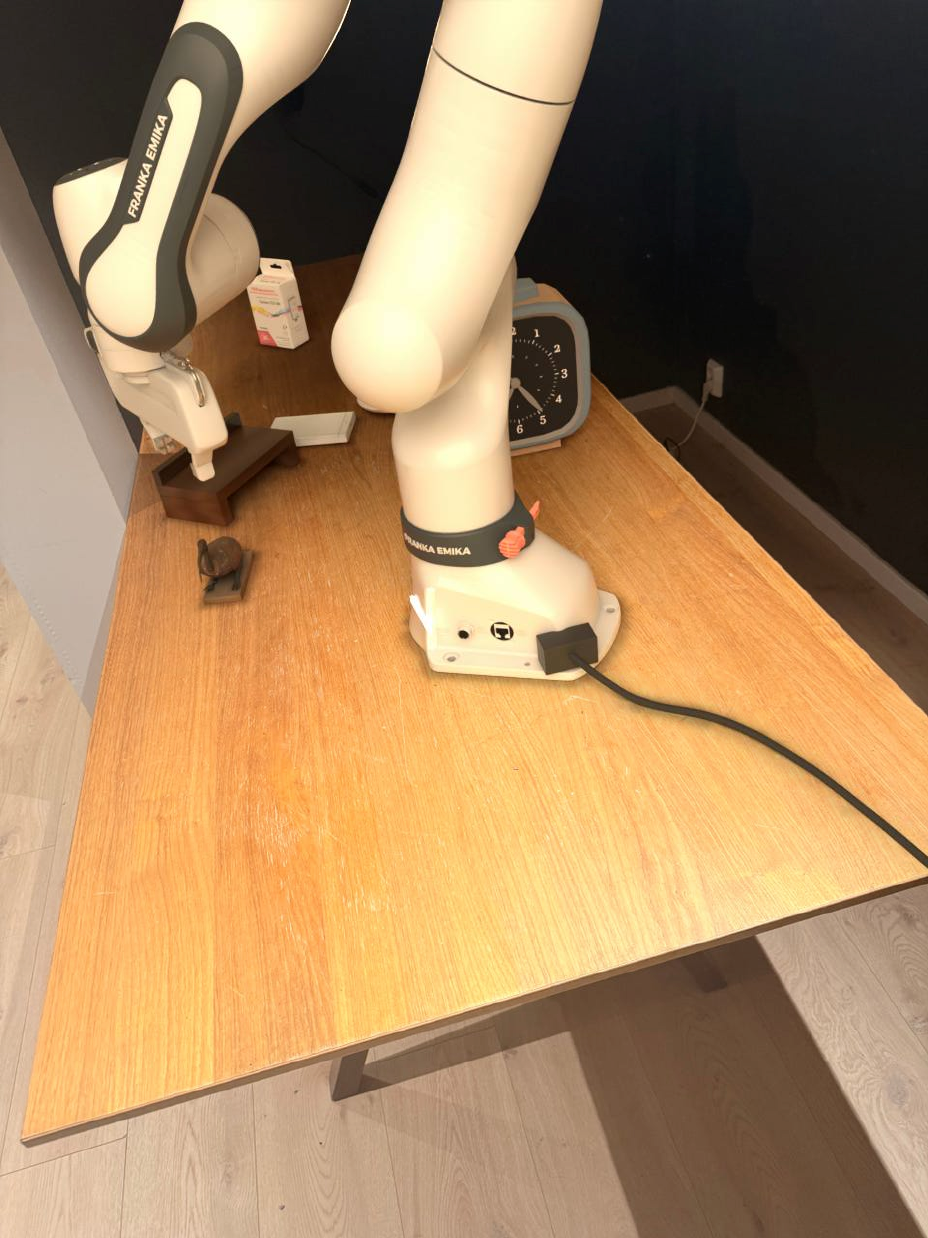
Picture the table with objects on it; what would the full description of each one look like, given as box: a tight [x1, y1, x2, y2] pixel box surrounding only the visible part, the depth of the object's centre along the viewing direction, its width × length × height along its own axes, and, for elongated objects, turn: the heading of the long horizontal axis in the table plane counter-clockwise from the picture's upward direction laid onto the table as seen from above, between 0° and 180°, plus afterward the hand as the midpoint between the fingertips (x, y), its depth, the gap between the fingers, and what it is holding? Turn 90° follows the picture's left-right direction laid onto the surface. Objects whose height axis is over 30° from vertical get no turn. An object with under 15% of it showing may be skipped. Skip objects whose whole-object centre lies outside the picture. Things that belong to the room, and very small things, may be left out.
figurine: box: [196, 535, 255, 605], centre depth 110 cm, size 14×4×9 cm, turn 2°
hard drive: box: [270, 411, 357, 448], centre depth 143 cm, size 2×8×12 cm
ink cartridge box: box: [246, 257, 310, 350], centre depth 173 cm, size 9×5×15 cm, turn 58°
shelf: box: [151, 411, 301, 527], centre depth 130 cm, size 10×18×7 cm, turn 155°
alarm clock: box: [508, 277, 592, 458], centre depth 127 cm, size 21×10×22 cm, turn 102°
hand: (185, 463), depth 102 cm, fingers open, 8 cm apart
